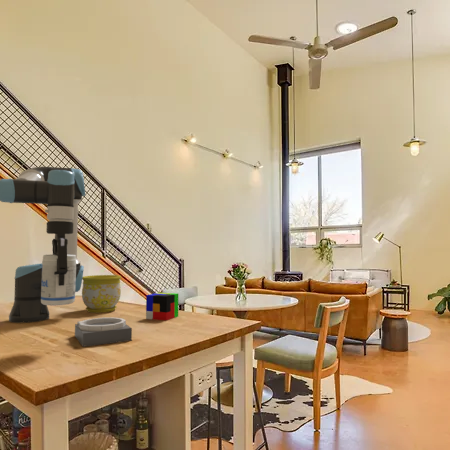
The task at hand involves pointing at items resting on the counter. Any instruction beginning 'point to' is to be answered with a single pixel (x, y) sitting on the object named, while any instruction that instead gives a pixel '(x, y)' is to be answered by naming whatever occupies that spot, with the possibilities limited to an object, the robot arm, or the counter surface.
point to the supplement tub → (50, 281)
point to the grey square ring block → (102, 331)
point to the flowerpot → (101, 292)
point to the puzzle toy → (162, 306)
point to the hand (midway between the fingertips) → (58, 294)
